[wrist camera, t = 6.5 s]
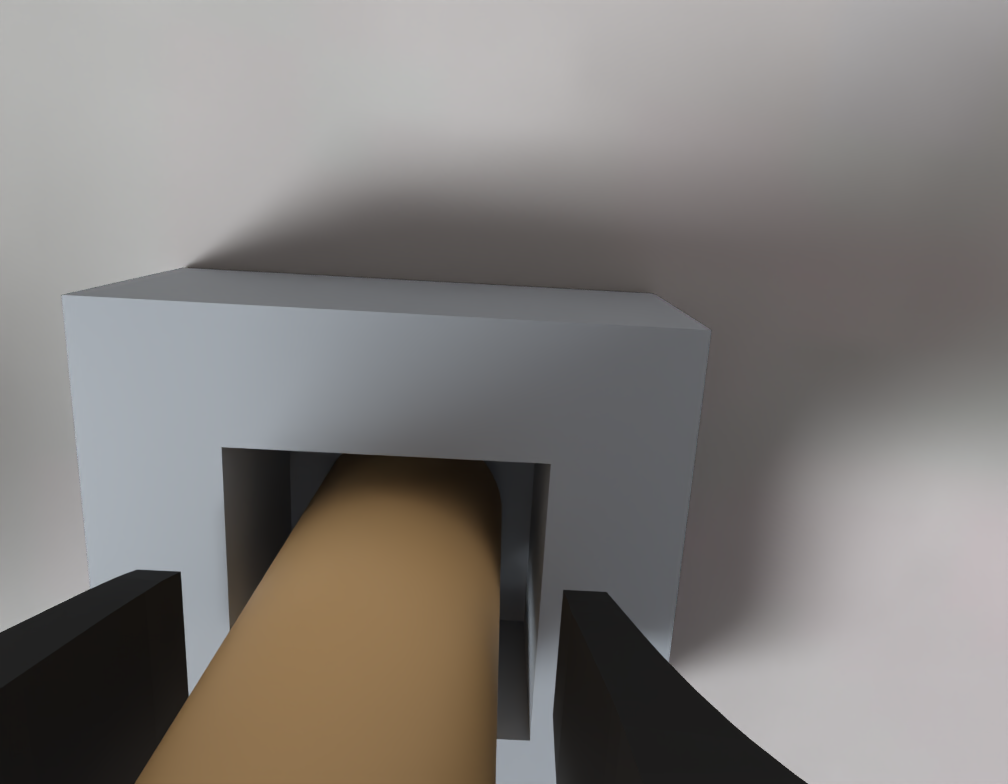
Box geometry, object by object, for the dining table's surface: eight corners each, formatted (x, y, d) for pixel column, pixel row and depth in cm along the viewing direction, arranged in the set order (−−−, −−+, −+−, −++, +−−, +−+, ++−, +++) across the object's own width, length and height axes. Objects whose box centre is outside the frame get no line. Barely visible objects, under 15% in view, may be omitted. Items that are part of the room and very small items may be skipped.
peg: (507, 431, 14) (502, 873, 5) (496, 595, 15) (478, 1213, 6) (320, 420, 14) (-18, 847, 5) (322, 586, 15) (40, 1194, 6)
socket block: (654, 293, 14) (711, 330, 10) (611, 696, 16) (645, 850, 13) (182, 267, 14) (61, 295, 10) (205, 677, 16) (113, 827, 12)
